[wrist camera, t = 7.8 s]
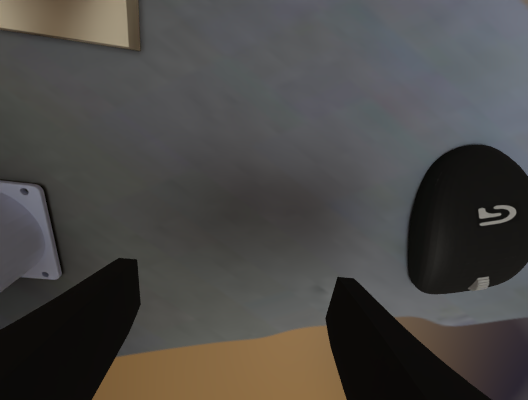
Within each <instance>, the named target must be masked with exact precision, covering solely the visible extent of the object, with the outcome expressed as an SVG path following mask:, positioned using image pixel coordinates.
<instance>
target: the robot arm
mask: <svg viewBox="0 0 528 400" xmlns="http://www.w3.org/2000/svg"><path fill="white" fill-rule="evenodd" d="M25 189H27V190H28V192H29V193H28V192H27V191H26V190H25ZM46 272H47V273H46ZM61 275H62V272H61V267H60V262H59V258H58V253H57V249H56V244H55V240H54V235H53V231H52V226H51V222H50V217H49V213H48V208H47V204H46V199H45V195H44V191H43V189H42V188H41V186H39V185H37V184H30V183H21V182H11V181H2V180H0V293H1V292H2V291H3V290H4V289H6V288H7V287H8V286H9V285H11V284H12V283H13V282H14V281H16V280H17V279H18V278H20V277H25V278H37V279H50V280H56V279H58V278H59V277H60V276H61ZM140 305H141V303H140V291H139V278H138V266H137V260H136V259H124V258H118V259H117V260H115V261H113V262H112V263H110V264H108V265H107V266H105V267H104V268H102V269H101V270H99V271H97V272H96V273H94V274H93V275H91V276H90V277H88V278H87V279H85V280H83V281H82V282H80V283H79V284H77V285H76V286H74V287H72V288H71V289H69V290H68V291H66V292H64V293H63V294H61V295H60V296H58V297H56V298H55V299H53V300H51V301H50V302H48V303H46V304H44V305H43V306H41V307H39V308H38V309H36V310H34V311H33V312H31V313H29V314H27V315H26V316H24V317H22V318H21V319H19V320H17V321H15V322H14V323H12V324H10V325H8V326H6V327H5V328H3V329H1V330H0V400H92V398H93V396H94V395H95V393H96V391H97V389H98V388H99V386H100V384H101V382H102V380H103V379H104V377H105V375H106V373H107V371H108V370H109V368H110V366H111V364H112V363H113V361H114V359H115V357H116V355H117V354H118V352H119V350H120V348H121V346H122V345H123V343H124V341H125V339H126V337H127V335H128V333H129V331H130V329H131V327H132V324H133V322H134V320H135V317H136V315H137V312H138V310H139V307H140ZM326 324H327V330H328V336H329V341H330V346H331V349H332V353H333V356H334V359H335V363H336V366H337V370H338V373H339V376H340V379H341V383H342V386H343V389H344V392H345V395H346V399H347V400H491V399H490V398H489V397H487V396H486V395H484V394H483V393H482V392H481V391H479V390H478V389H477V388H475V387H474V386H473V385H471V384H470V383H469V382H468V381H466V380H465V379H464V378H463V377H461V376H460V375H459V374H458V373H456V372H455V371H454V370H452V369H451V368H450V367H449V366H447V365H446V364H445V363H444V362H443V361H441V360H440V359H439V358H438V357H437V356H435V355H434V354H433V353H432V352H431V351H430V350H429V349H428V348H427V347H425V346H424V345H423V344H422V343H421V342H420V341H419V340H417V339H416V338H415V337H414V336H413V335H412V334H411V333H410V332H408V330H406V329H405V328H404V327H403V326H402V325H401V324H400V323H399V322H398V321H397V320H396V319H395V318H394V317H393V316H392V315H391V314H390V313H389V312H388V311H387V310H386V309H385V308H384V307H383V306H382V305H381V304H380V303H378V302H377V301H376V300H375V299H374V298H373V297H372V296H371V295H370V294H369V293H368V292H367V291H366V290H365V289H364V288H363V287H362V286H361V285H360V284H359V283H358V282H357V281H356V280H355V279H354V278H343V277H337V281H336V284H335V288H334V291H333V294H332V298H331V301H330V305H329V308H328V311H327V315H326Z"/></svg>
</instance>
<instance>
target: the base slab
mask: <svg viewBox="0 0 528 400" xmlns="http://www.w3.org/2000/svg"><path fill="white" fill-rule="evenodd" d="M0 30H6V31H13V32H19V33H26V34H32V35H39V36H45V37H52V38H58V39H65V40H71V41H78V42H84V43H91V44H97V45H104V46H110V47H117V48H123V49H130V50H136V51H140V30H139V7H138V0H0Z"/></svg>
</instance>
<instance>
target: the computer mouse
mask: <svg viewBox="0 0 528 400" xmlns="http://www.w3.org/2000/svg"><path fill="white" fill-rule="evenodd" d="M527 262H528V176H527V175H526V173H525V172H524V171H523V170H522V168H521V167H520V166H519V165H518V164H517V163H516V162H515V161H513V160H512V159H511V158H510V157H508V156H507V155H506V154H504V153H503V152H501V151H499V150H498V149H495V148H493V147H490V146H486V145H468V146H464V147H460V148H457V149H454V150H452V151H450V152H448V153H446V154H445V155H443V156H442V157H440V158H439V159H438V160H437V161H436V162H435V163H434V164H433V165H432V166H431V167H430V169H429V170H428V172H427V173H426V175H425V177H424V179H423V181H422V184H421V186H420V189H419V191H418V194H417V197H416V201H415V204H414V208H413V213H412V218H411V224H410V233H409V251H408V268H409V276H410V279H411V282H412V283H413V284H414V285H415V287H417V288H418V289H419V290H420V291H422V292H424V293H428V294H447V293H456V292H463V291H470V290H472V291H475V290H482V289H486V288H488V287H491V286H495V285H498V284H500V283H503V282H505V281H507V280H509V279H511V278H512V277H513V276H515V275H516V274H517V273H518V272H519V271H520V270H521V269H522V268H523V267H524V266H525V265H526V264H527Z"/></svg>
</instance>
